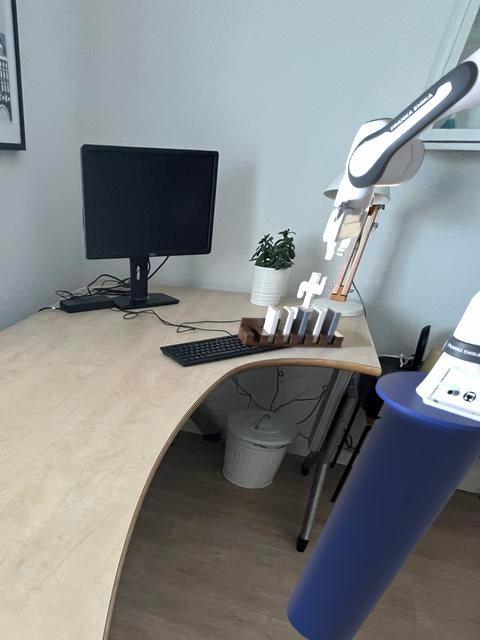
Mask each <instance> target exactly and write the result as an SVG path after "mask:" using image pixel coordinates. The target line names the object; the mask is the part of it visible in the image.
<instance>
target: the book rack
mask: <svg viewBox="0 0 480 640" xmlns="http://www.w3.org/2000/svg"><path fill="white" fill-rule="evenodd" d="M280 319H281V317H279V319H278V322H277V326H276V330H275V333H274V337H273V341H272V342H268V338H269V335H268V333H267V332H266V331H265V330H264V329H263V328H264V324H265V320H266V317H241V319H240V323H239V327H238V333H237V338H238V339H239V340H240V342H241V343H242V344H243V345H244V347H281V348H282V347H286V348H288V347H289V348H333V349H334V348H337V349H339V348H341V346H342V344H343V341H344V340H345V339H344V338H345V336H344V335H342V333H340V332H339V331H337V329H336V330H335V333H334V336H333V338H332V341H331V343H327V341H328V339H329V336H328V335H327V334H325V333H324V332H323V331H322V330H320V333H319V336H318V339H317V342H316V343H312V342H313V339H314V336H313V335H312V334H311V333H310V332H309V331H308V330H305V333H304V336H303V339H302V342H301V343H297V342H298V338H299V335H298V334H297V333H295V332H294V331H293V330H292V328H293V325H294V321H295V318H294V320H293V323H292V326H291V330H290V333H289V336H288V340H287V342H283V339H284V335H283V334H282V333H281V332H280V331H279V330H278V326H279V323H280ZM309 320H310V319H309ZM309 320H308V323H309ZM323 322H324V321H323ZM322 325H323V324H322ZM307 326H308V324H307ZM321 328H322V327H321ZM306 329H307V327H306Z"/></svg>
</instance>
